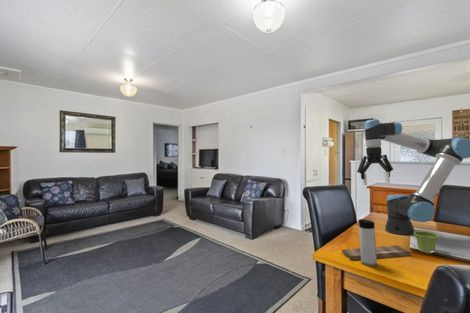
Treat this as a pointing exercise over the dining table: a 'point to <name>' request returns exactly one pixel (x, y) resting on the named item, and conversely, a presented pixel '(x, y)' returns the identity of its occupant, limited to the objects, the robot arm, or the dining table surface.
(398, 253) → the walnut board
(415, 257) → the dining table surface
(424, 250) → the plant pot
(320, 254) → the dining table surface
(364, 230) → the travel mug
